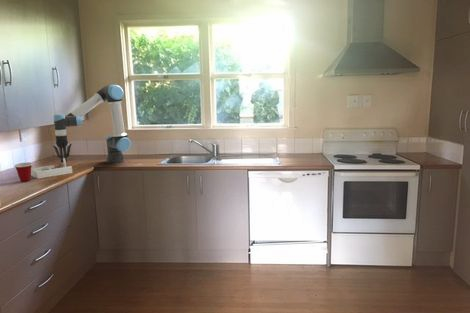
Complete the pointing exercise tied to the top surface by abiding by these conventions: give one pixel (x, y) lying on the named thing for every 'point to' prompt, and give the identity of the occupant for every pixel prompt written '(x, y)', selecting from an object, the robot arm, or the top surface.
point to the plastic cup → (24, 171)
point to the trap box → (49, 171)
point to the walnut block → (59, 165)
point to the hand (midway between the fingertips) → (64, 166)
